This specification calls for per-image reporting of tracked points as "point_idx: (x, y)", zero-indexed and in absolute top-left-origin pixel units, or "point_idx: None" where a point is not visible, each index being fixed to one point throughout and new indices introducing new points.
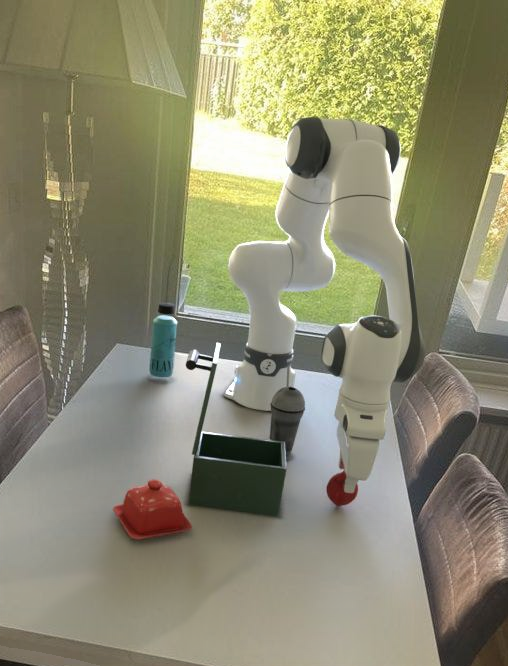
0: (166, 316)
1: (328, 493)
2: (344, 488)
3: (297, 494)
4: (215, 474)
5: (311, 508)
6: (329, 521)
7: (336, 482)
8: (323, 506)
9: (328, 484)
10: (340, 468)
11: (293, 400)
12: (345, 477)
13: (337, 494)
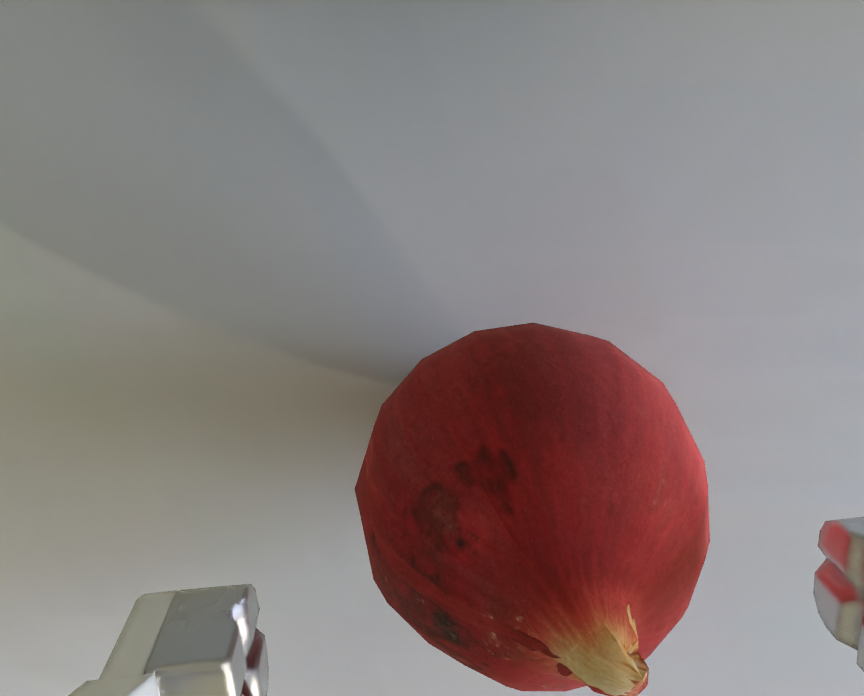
0: None
1: (447, 348)
2: (130, 615)
3: (615, 15)
4: None
5: (371, 171)
6: (195, 338)
7: (446, 479)
8: (449, 282)
9: (513, 362)
10: (827, 529)
11: None
12: (486, 618)
13: (370, 453)
